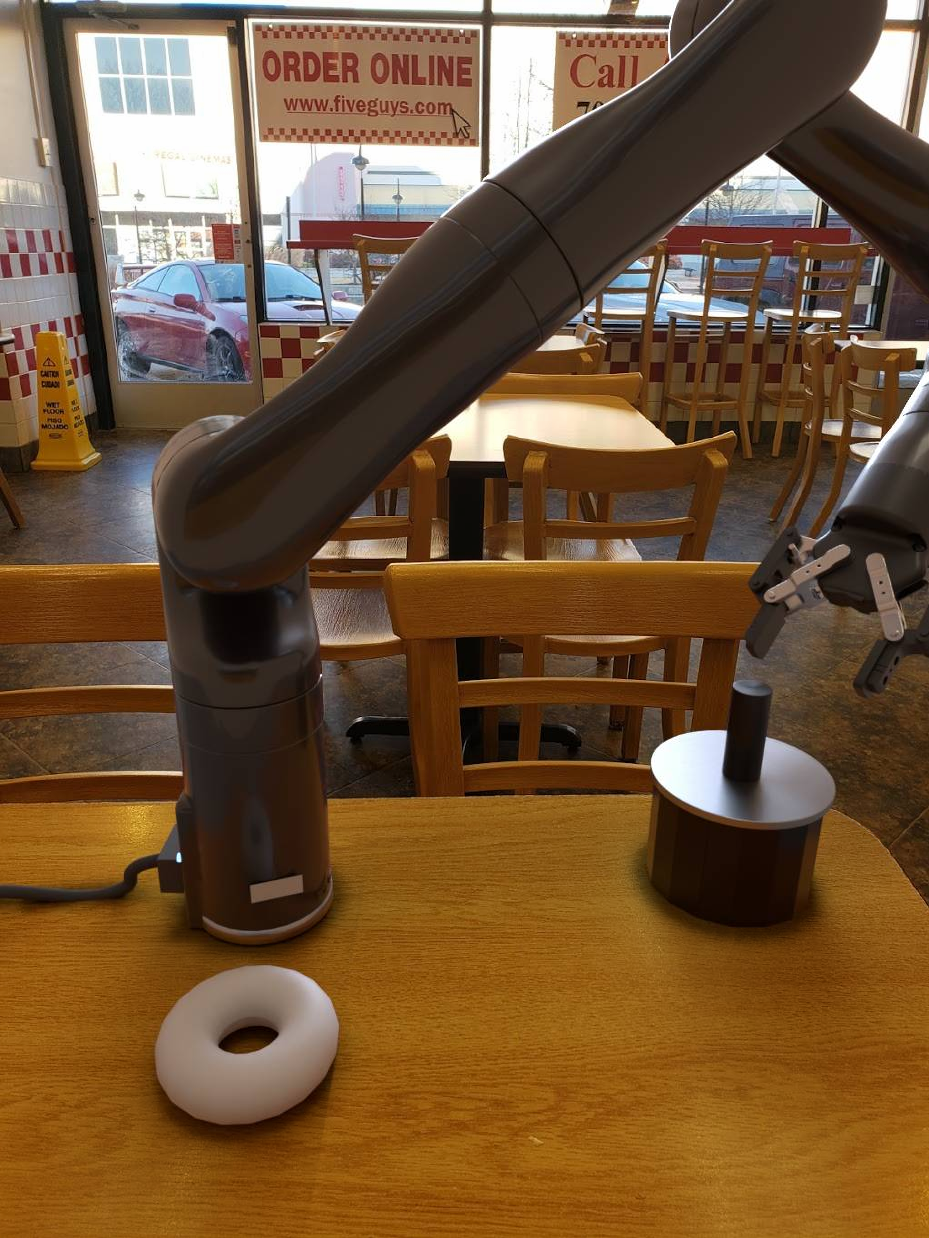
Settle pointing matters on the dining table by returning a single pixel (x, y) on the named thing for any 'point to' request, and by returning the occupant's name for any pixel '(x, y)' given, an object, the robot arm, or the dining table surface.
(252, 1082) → the donut
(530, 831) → the dining table surface
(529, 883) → the dining table surface
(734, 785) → the lid
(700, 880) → the pot
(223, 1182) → the dining table surface
